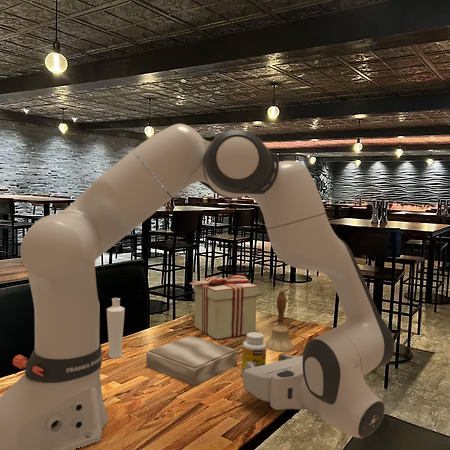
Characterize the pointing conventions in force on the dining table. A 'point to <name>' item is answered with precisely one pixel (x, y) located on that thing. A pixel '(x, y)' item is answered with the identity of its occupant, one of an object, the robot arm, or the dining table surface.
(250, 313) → the gift box
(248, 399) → the dining table surface
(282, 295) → the hand bell
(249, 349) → the supplement bottle
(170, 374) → the riser
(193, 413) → the dining table surface
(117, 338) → the perfume bottle
